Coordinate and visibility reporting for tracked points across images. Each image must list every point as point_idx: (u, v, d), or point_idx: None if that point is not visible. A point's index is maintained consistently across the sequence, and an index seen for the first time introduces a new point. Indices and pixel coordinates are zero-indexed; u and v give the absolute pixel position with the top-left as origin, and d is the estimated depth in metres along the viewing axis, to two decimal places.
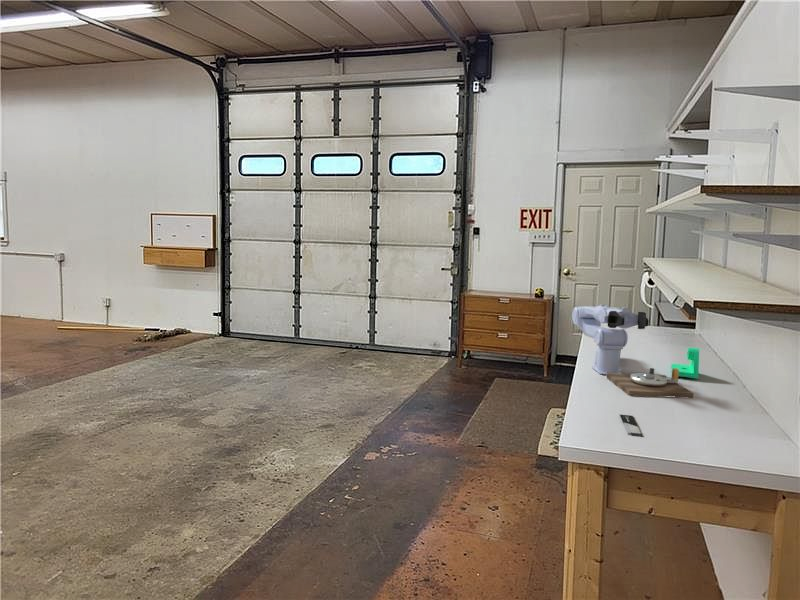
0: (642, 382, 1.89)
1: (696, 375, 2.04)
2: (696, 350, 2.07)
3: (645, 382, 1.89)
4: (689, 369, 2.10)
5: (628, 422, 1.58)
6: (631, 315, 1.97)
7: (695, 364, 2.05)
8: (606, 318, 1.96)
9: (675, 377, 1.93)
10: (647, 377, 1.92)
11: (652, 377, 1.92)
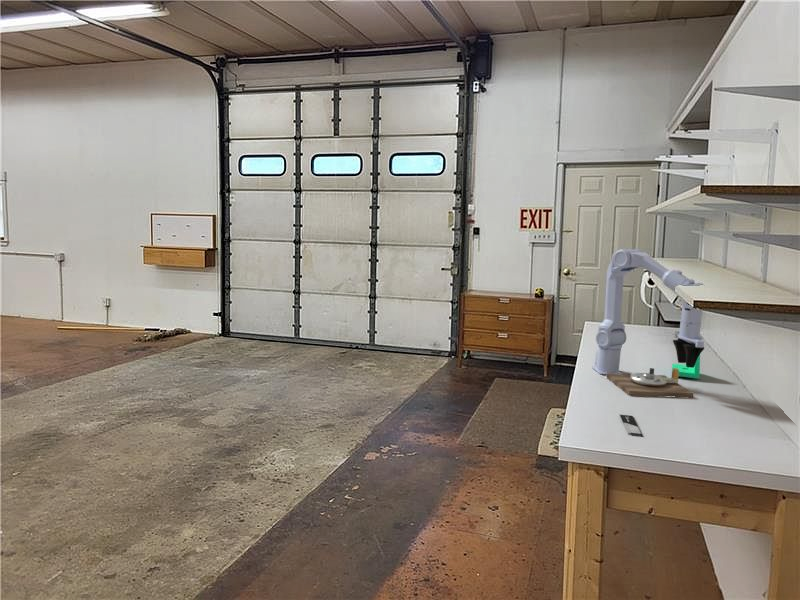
0: (642, 382, 1.89)
1: (697, 375, 2.04)
2: None
3: (645, 382, 1.89)
4: (690, 369, 2.09)
5: (628, 422, 1.58)
6: None
7: (696, 364, 2.05)
8: (699, 346, 1.79)
9: (675, 377, 1.93)
10: (647, 377, 1.92)
11: (652, 377, 1.92)
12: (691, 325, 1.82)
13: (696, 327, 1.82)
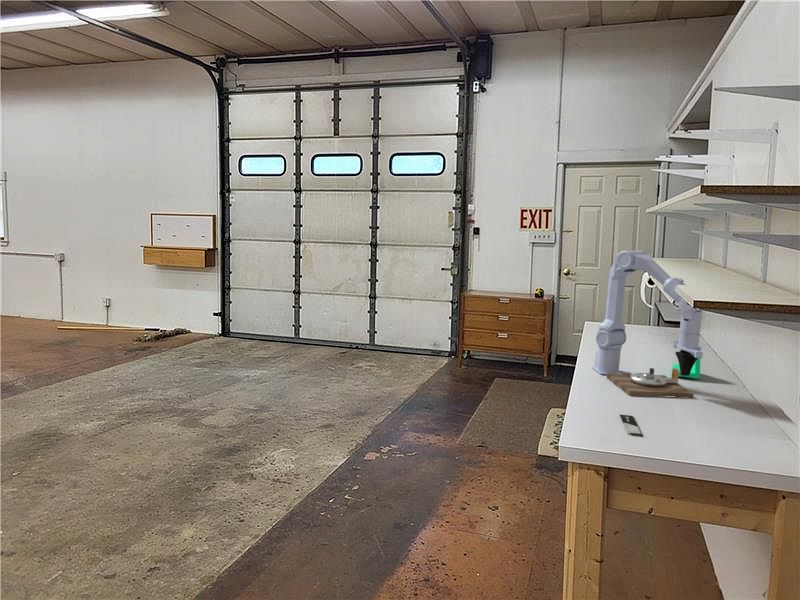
0: (642, 382, 1.89)
1: (698, 375, 2.04)
2: None
3: (645, 382, 1.89)
4: None
5: (628, 422, 1.58)
6: None
7: (696, 364, 2.05)
8: None
9: (675, 377, 1.93)
10: (647, 377, 1.92)
11: (652, 377, 1.92)
12: (690, 335, 1.83)
13: (695, 337, 1.83)
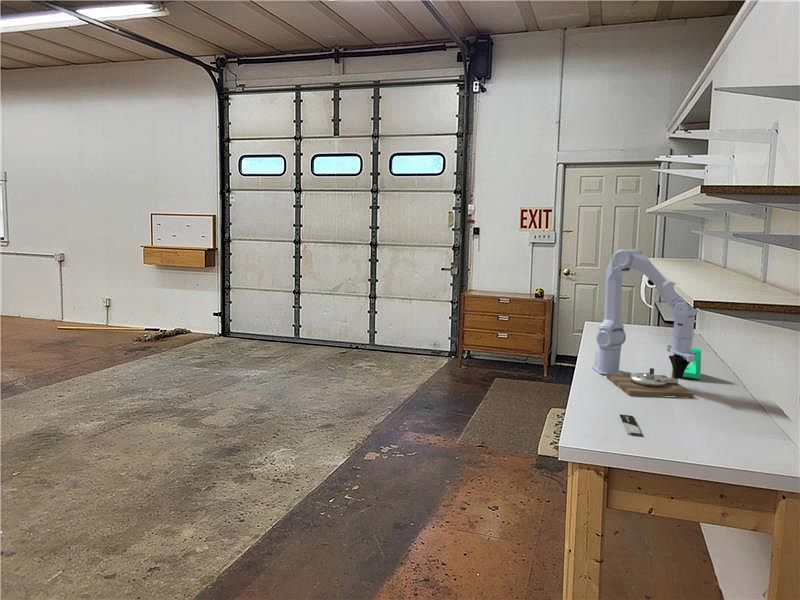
0: (642, 382, 1.89)
1: (698, 375, 2.04)
2: (698, 350, 2.07)
3: (645, 382, 1.89)
4: (691, 369, 2.09)
5: (628, 422, 1.58)
6: None
7: (697, 364, 2.05)
8: None
9: None
10: (647, 377, 1.92)
11: (652, 377, 1.92)
12: (683, 340, 1.87)
13: (687, 342, 1.87)
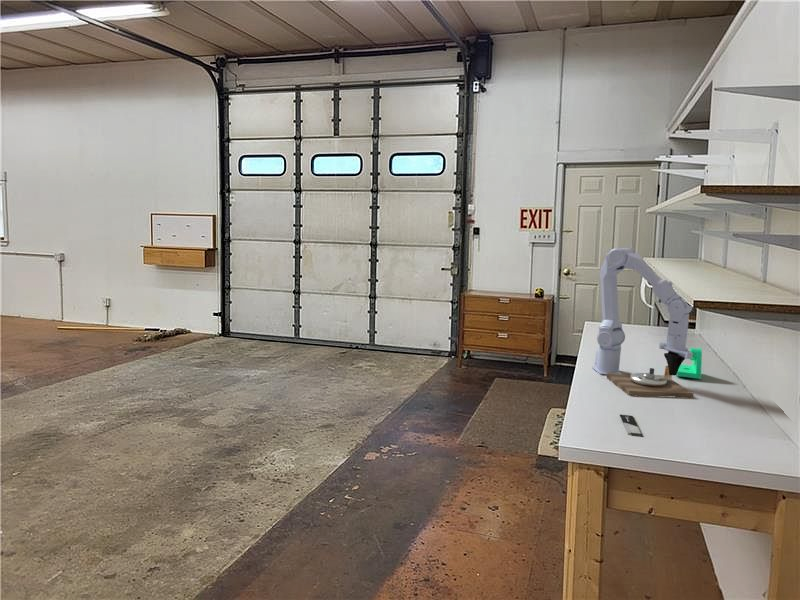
0: (649, 383, 1.88)
1: (699, 375, 2.04)
2: (699, 350, 2.07)
3: (652, 383, 1.88)
4: (692, 369, 2.09)
5: (628, 422, 1.58)
6: None
7: (698, 364, 2.05)
8: None
9: None
10: (649, 377, 1.92)
11: (653, 377, 1.92)
12: (679, 337, 1.90)
13: (683, 339, 1.91)
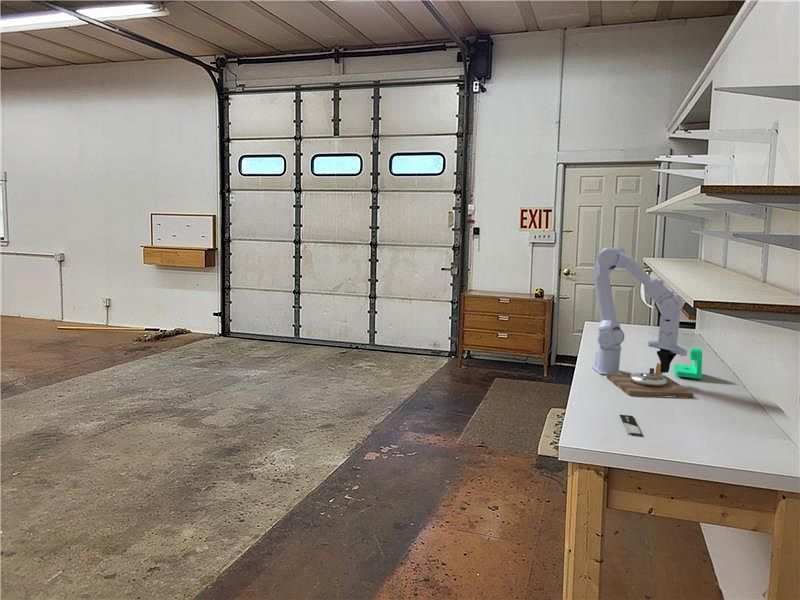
0: (656, 384, 1.88)
1: (699, 375, 2.04)
2: (699, 350, 2.07)
3: (659, 383, 1.88)
4: (692, 369, 2.09)
5: (628, 422, 1.58)
6: None
7: (698, 364, 2.05)
8: None
9: (661, 372, 1.99)
10: (651, 377, 1.92)
11: (654, 376, 1.93)
12: (672, 335, 1.93)
13: (676, 336, 1.94)
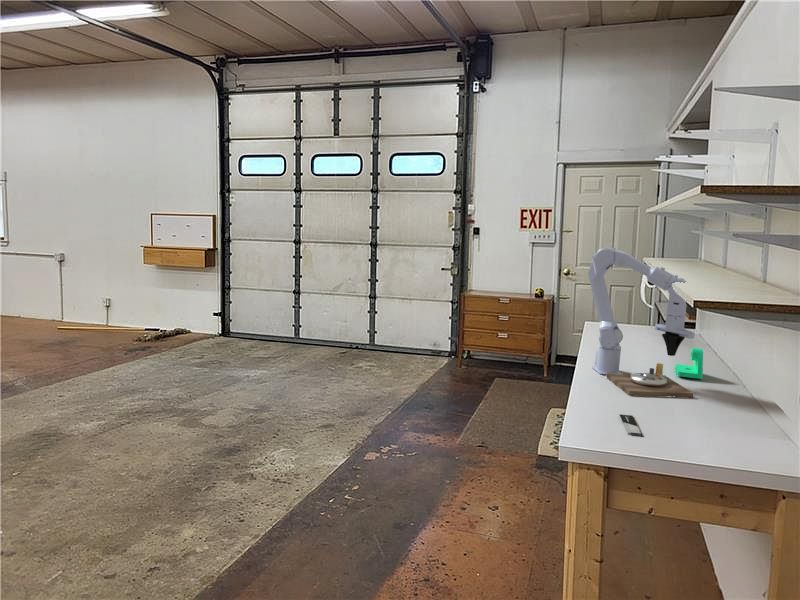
0: (656, 384, 1.88)
1: (700, 375, 2.04)
2: (700, 350, 2.07)
3: (659, 383, 1.88)
4: (693, 369, 2.09)
5: (628, 422, 1.58)
6: None
7: (699, 364, 2.05)
8: None
9: (661, 372, 1.99)
10: (651, 377, 1.92)
11: (654, 376, 1.93)
12: (679, 318, 1.95)
13: (683, 319, 1.95)
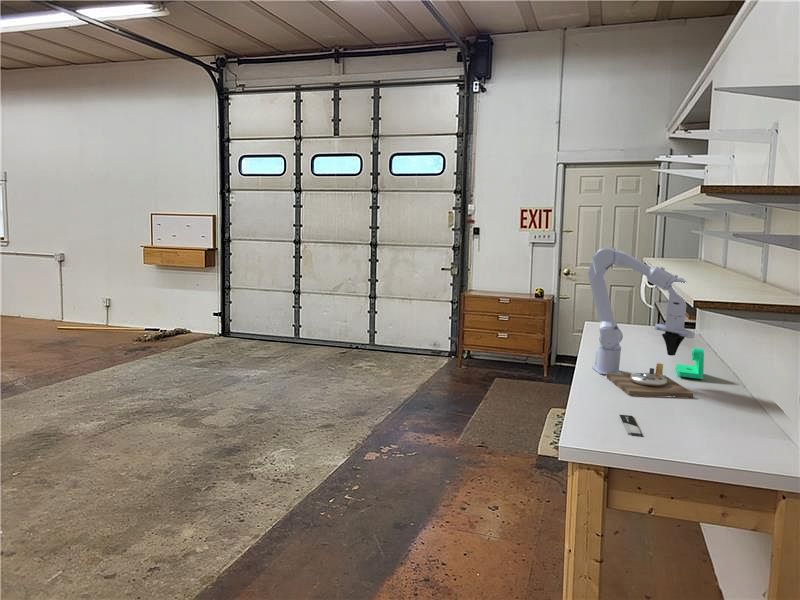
0: (656, 384, 1.88)
1: (701, 376, 2.04)
2: (701, 351, 2.07)
3: (659, 383, 1.88)
4: (694, 370, 2.09)
5: (628, 422, 1.58)
6: None
7: (700, 365, 2.05)
8: (690, 337, 1.93)
9: (661, 372, 1.99)
10: (651, 377, 1.92)
11: (654, 376, 1.93)
12: (679, 318, 1.95)
13: (683, 319, 1.95)
